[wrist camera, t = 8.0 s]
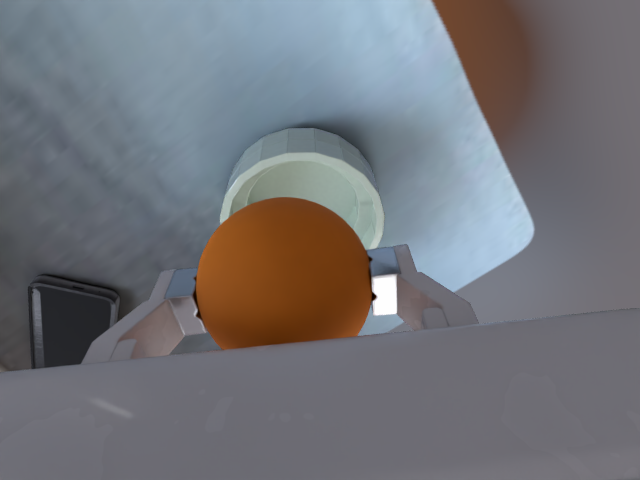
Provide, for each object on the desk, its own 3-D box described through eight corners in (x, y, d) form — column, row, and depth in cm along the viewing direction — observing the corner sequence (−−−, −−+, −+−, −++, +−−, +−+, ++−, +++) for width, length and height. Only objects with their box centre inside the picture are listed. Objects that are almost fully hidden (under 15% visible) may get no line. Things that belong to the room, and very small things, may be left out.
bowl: (198, 181, 35) (185, 214, 31) (319, 92, 31) (322, 116, 27) (290, 271, 41) (289, 309, 37) (400, 206, 37) (413, 240, 33)
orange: (182, 223, 17) (122, 354, 11) (301, 135, 15) (297, 245, 9) (279, 309, 20) (268, 446, 14) (391, 245, 18) (426, 377, 12)
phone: (32, 377, 47) (27, 280, 38) (37, 368, 48) (33, 272, 39) (107, 389, 48) (118, 300, 40) (110, 381, 49) (121, 291, 41)
